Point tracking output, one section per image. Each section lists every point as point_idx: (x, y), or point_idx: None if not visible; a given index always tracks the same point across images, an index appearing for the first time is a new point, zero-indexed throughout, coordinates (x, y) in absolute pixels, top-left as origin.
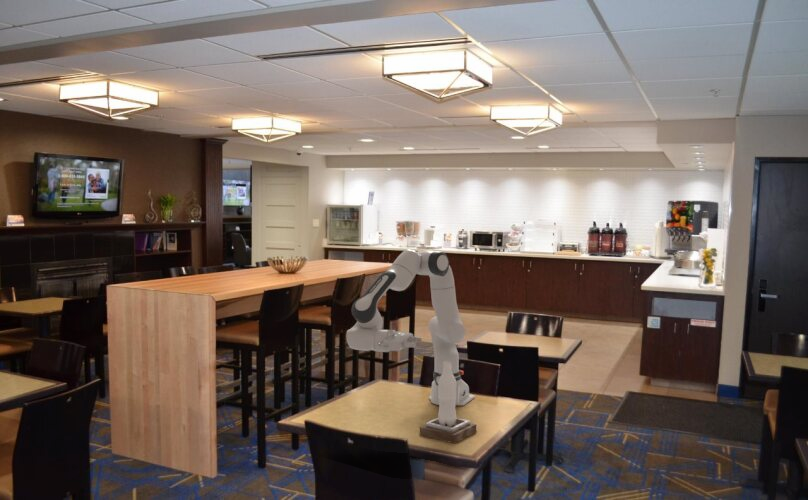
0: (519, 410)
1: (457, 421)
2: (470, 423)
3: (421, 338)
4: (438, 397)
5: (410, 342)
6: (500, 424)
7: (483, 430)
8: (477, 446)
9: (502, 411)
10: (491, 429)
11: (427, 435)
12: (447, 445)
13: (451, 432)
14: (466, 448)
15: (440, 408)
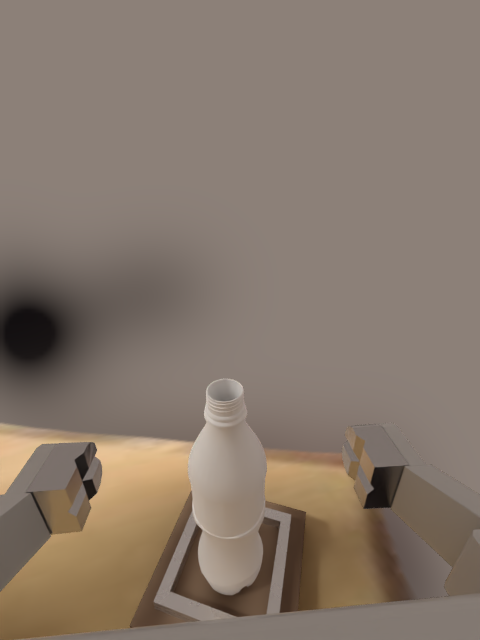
0: (18, 441)
1: (194, 534)
2: (191, 498)
3: (47, 444)
4: (250, 533)
5: (411, 464)
6: (130, 457)
7: (181, 482)
8: (295, 469)
9: (15, 473)
10: (171, 467)
11: None
12: (331, 540)
13: (290, 527)
14: (321, 487)
15: (252, 548)
